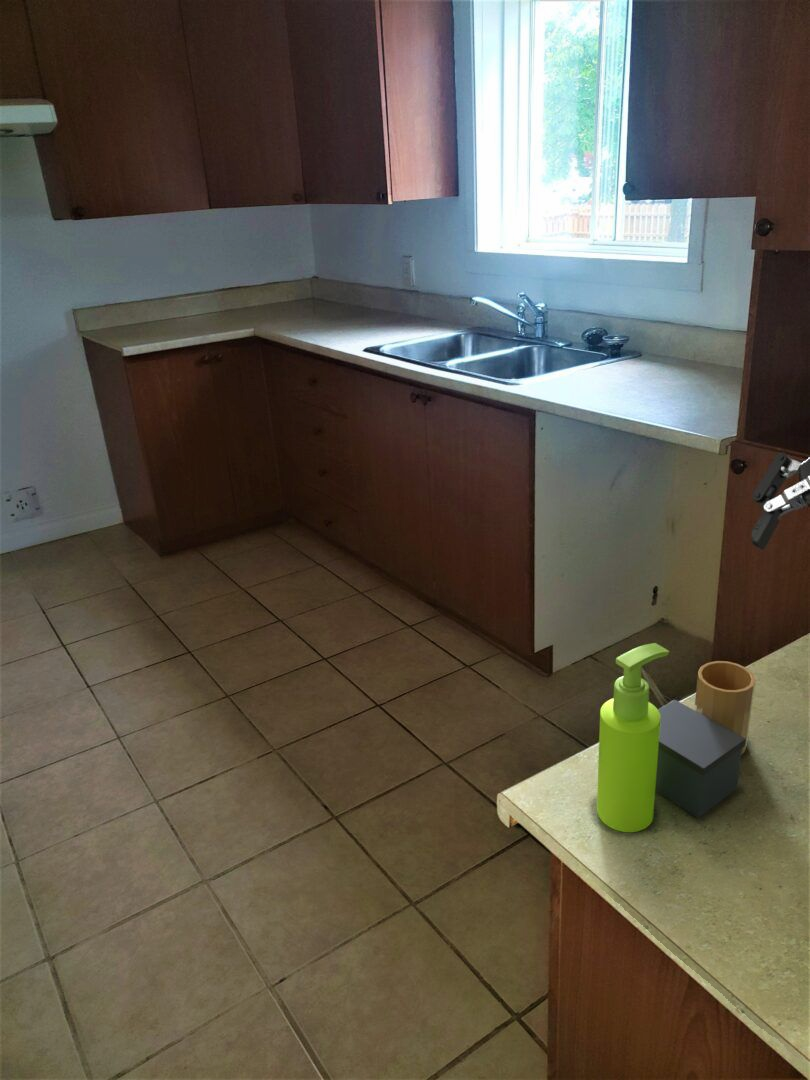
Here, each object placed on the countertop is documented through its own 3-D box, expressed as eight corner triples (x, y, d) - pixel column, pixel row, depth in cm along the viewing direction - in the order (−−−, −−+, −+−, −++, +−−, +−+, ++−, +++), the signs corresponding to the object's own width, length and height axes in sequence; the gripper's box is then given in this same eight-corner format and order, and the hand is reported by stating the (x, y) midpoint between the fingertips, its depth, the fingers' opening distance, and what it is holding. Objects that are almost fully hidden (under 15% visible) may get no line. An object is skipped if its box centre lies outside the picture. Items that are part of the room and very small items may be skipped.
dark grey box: (739, 789, 89) (746, 738, 86) (698, 820, 86) (704, 769, 83) (670, 747, 96) (674, 698, 93) (629, 774, 93) (632, 725, 90)
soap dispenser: (672, 813, 87) (686, 656, 78) (623, 840, 84) (632, 681, 76) (632, 781, 92) (641, 630, 83) (585, 806, 89) (589, 652, 80)
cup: (756, 744, 96) (766, 677, 92) (725, 766, 93) (733, 698, 89) (712, 719, 100) (719, 655, 96) (681, 740, 97) (687, 674, 93)
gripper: (794, 393, 87) (721, 528, 89) (934, 431, 77) (849, 581, 79) (816, 419, 93) (746, 546, 94) (950, 457, 83) (869, 598, 84)
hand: (793, 562), depth 87 cm, fingers open, 8 cm apart
